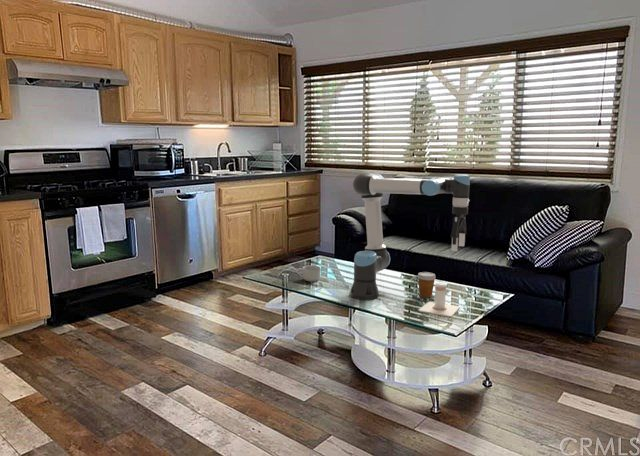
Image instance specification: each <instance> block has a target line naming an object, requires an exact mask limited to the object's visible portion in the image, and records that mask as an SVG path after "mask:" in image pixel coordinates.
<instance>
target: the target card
mask: <svg viewBox="0 0 640 456" xmlns="http://www.w3.org/2000/svg"><path fill="white" fill-rule="evenodd" d="M434 305H435V301H430V300H429V301H428V302H426V303H425V304H424V305H422V306H421V307H420V308H419V309H418V312H419V313H426V314H431V315H437V316H443V317H448V318H452V317H453V316H454V315H455V314H456V313H457V312H458V311H459V310H460V308H461V306H458V305H453V304H447V303H445V309H444V310H438V309H435V308H434Z"/></svg>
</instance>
